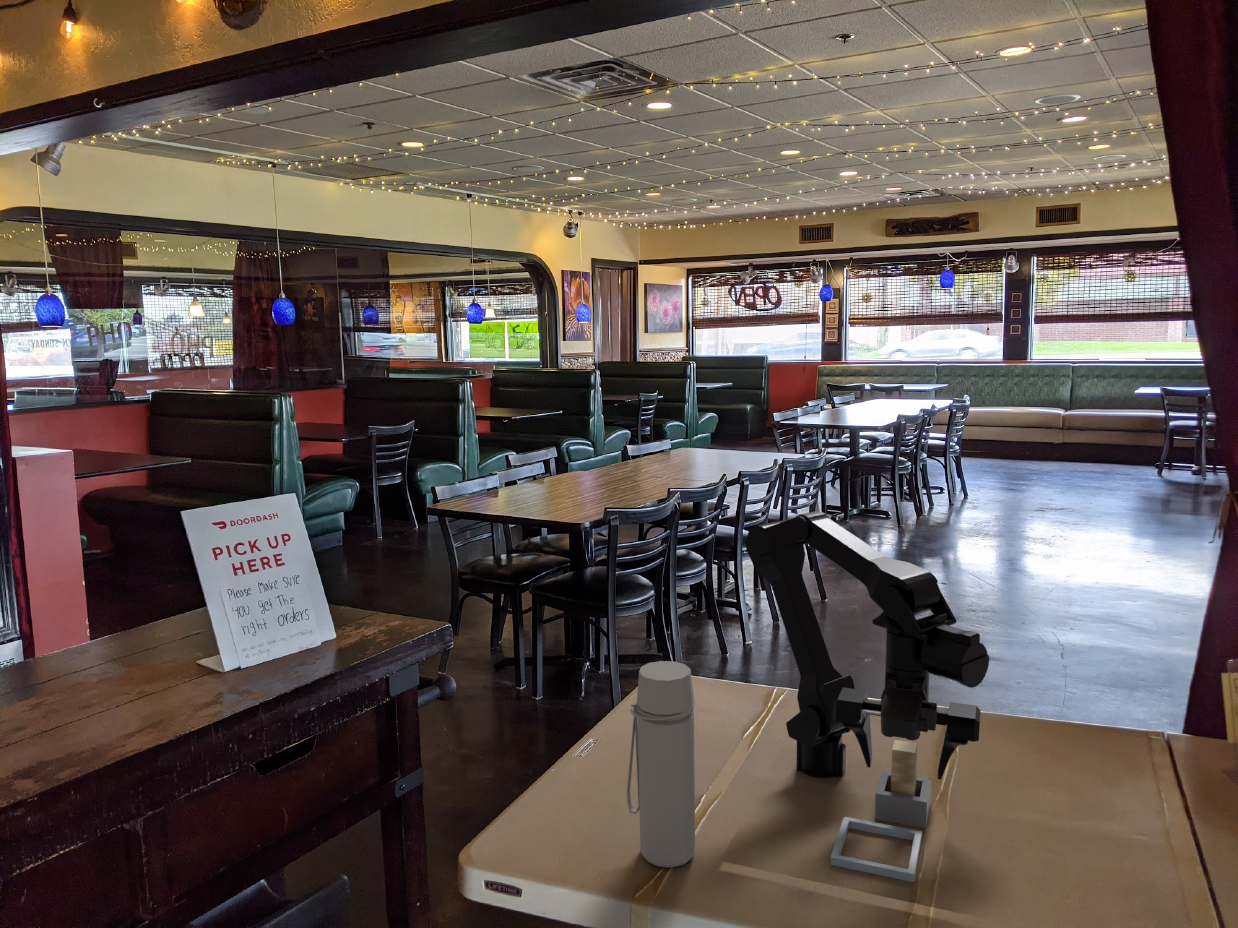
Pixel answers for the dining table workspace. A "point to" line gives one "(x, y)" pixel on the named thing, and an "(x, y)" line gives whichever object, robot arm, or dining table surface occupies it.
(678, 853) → the water bottle
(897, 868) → the grey flat frame
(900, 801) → the block with square hole
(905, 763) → the peg
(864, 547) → the robot arm
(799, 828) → the dining table surface
